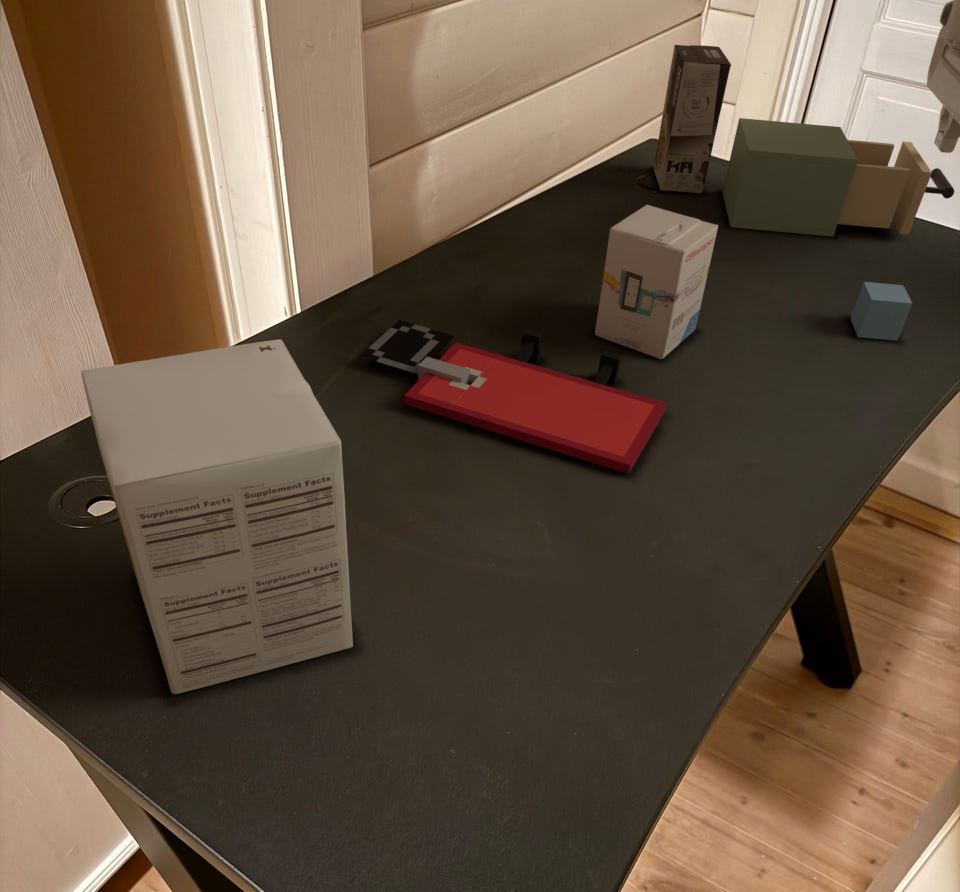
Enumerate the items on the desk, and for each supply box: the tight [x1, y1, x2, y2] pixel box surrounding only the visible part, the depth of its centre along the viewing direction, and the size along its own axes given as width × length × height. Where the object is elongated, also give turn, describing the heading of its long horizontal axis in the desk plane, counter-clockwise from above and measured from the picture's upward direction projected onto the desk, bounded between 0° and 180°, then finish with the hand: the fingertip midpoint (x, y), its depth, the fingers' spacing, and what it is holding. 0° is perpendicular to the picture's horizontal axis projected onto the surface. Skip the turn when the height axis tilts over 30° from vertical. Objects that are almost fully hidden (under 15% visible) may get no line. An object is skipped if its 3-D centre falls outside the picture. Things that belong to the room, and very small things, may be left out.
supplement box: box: [81, 338, 354, 695], centre depth 63 cm, size 13×13×18 cm
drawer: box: [837, 139, 955, 236], centre depth 125 cm, size 17×11×8 cm
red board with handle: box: [359, 319, 668, 475], centre depth 91 cm, size 30×3×15 cm
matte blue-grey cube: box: [850, 281, 913, 342], centre depth 104 cm, size 4×4×4 cm
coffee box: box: [653, 44, 732, 194], centre depth 129 cm, size 9×6×16 cm
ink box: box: [594, 204, 719, 360], centre depth 98 cm, size 8×8×12 cm
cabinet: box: [721, 117, 858, 237], centre depth 125 cm, size 14×13×10 cm
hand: (942, 149), depth 121 cm, fingers closed
